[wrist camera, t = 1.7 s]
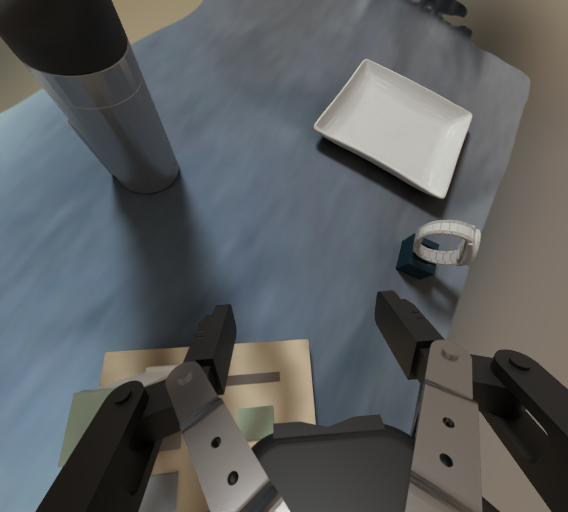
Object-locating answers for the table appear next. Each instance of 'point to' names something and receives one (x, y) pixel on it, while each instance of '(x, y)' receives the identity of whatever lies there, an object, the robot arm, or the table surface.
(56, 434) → the table surface
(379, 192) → the table surface
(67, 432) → the tall beige block
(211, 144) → the table surface
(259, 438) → the switch board
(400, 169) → the square plate
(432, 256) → the watch
